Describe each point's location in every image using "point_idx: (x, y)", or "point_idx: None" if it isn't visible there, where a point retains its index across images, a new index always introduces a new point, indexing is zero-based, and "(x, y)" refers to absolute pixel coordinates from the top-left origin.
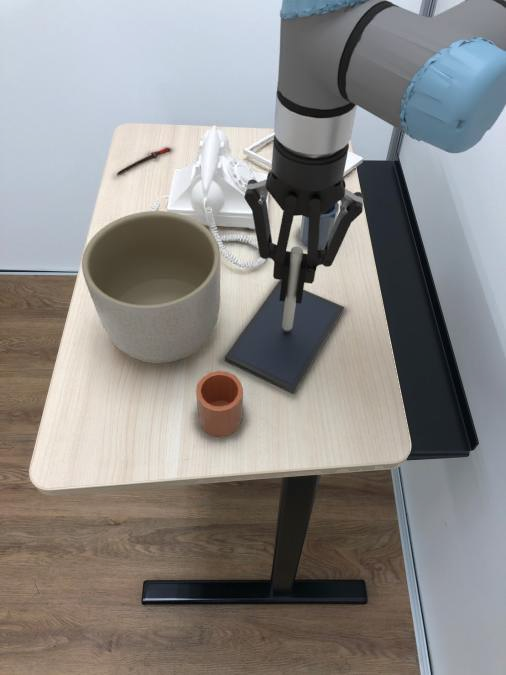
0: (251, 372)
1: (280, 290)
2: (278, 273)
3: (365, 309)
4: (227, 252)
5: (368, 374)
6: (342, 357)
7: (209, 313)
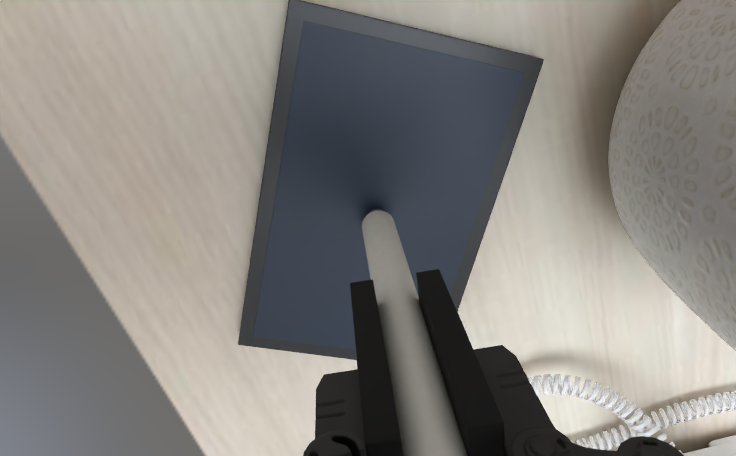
0: (445, 35)
1: (453, 303)
2: (497, 375)
3: (184, 356)
4: (609, 404)
5: (92, 150)
6: (189, 185)
7: (728, 106)
